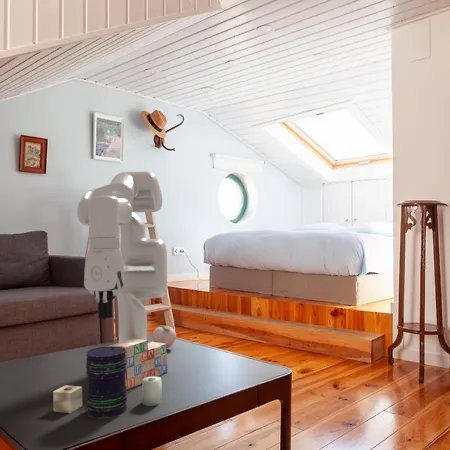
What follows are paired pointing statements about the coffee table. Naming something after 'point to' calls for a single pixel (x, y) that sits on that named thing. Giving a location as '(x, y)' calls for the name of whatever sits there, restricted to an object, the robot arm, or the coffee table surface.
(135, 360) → the stack of blocks
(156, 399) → the sage cylinder
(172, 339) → the decorative fruit
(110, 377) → the storage jar
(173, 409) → the coffee table surface
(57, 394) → the maple cube
